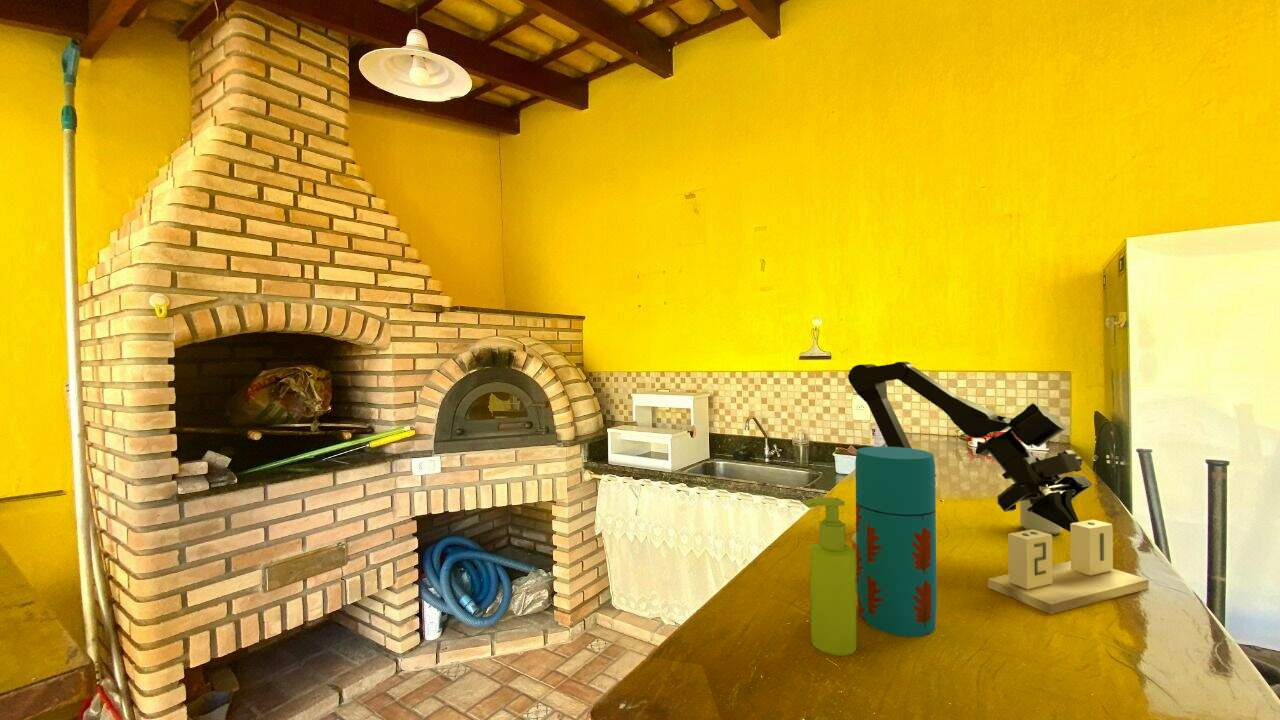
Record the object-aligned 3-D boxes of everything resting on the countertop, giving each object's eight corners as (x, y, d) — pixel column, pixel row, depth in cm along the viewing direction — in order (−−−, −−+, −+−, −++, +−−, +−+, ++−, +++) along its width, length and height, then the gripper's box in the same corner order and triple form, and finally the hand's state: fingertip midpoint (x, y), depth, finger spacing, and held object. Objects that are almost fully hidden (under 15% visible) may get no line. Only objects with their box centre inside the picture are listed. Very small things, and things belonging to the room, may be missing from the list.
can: (1047, 525, 122) (1047, 472, 121) (1070, 536, 114) (1070, 480, 114) (1012, 524, 122) (1012, 472, 122) (1033, 535, 115) (1033, 480, 115)
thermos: (929, 607, 83) (928, 448, 83) (944, 642, 73) (942, 461, 73) (855, 598, 87) (853, 445, 87) (859, 630, 77) (857, 457, 76)
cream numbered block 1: (1070, 569, 93) (1070, 522, 93) (1093, 564, 95) (1092, 518, 95) (1091, 576, 90) (1091, 528, 90) (1114, 570, 92) (1113, 524, 92)
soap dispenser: (797, 634, 76) (795, 494, 76) (844, 631, 76) (842, 492, 76) (814, 657, 70) (812, 505, 70) (864, 654, 70) (863, 503, 70)
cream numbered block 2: (1008, 581, 88) (1008, 533, 88) (1033, 576, 90) (1033, 528, 90) (1028, 589, 85) (1027, 539, 85) (1053, 583, 87) (1053, 534, 87)
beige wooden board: (987, 587, 90) (987, 578, 90) (1081, 566, 98) (1081, 558, 98) (1050, 614, 80) (1050, 604, 80) (1148, 588, 89) (1148, 579, 89)
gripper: (1011, 439, 96) (1081, 517, 86) (1079, 432, 102) (1152, 504, 92) (972, 474, 103) (1031, 549, 93) (1037, 466, 110) (1100, 535, 99)
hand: (1080, 534), depth 94 cm, fingers closed, pressing on cream numbered block 1
